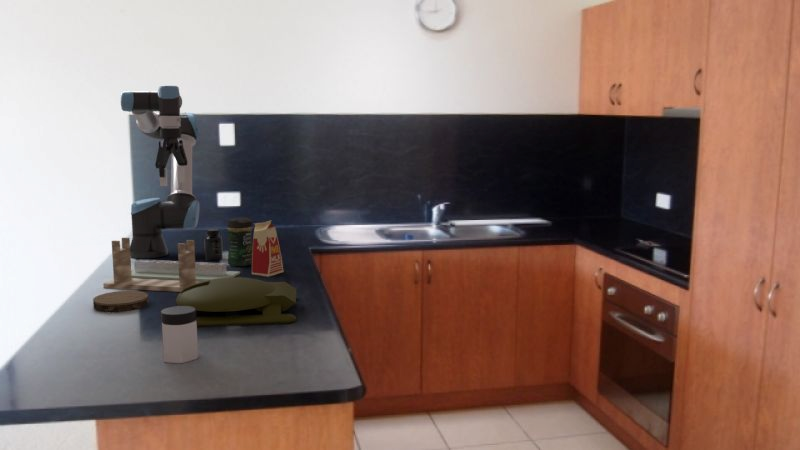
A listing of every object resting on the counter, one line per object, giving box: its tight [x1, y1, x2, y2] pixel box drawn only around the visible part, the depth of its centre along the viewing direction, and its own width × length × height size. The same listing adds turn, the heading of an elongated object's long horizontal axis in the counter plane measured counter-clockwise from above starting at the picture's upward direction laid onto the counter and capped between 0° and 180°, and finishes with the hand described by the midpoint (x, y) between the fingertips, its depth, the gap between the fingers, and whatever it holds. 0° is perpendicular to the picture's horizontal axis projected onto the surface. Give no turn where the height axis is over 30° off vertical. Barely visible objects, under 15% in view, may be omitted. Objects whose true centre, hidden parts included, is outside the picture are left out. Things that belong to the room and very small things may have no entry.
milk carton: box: [251, 220, 284, 278], centre depth 270 cm, size 9×9×20 cm
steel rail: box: [134, 258, 228, 277], centre depth 267 cm, size 34×4×4 cm, turn 79°
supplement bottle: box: [204, 228, 224, 262], centre depth 296 cm, size 7×7×12 cm
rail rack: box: [103, 237, 201, 293], centre depth 249 cm, size 33×9×16 cm, turn 79°
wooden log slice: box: [92, 290, 150, 313], centre depth 226 cm, size 16×16×3 cm
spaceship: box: [175, 276, 297, 328], centre depth 220 cm, size 35×31×10 cm
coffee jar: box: [227, 216, 254, 267], centre depth 285 cm, size 10×8×19 cm
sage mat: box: [131, 268, 241, 282], centre depth 267 cm, size 40×14×1 cm, turn 79°
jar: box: [160, 305, 199, 364], centre depth 178 cm, size 9×8×12 cm
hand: (172, 184), depth 278 cm, fingers open, 13 cm apart
